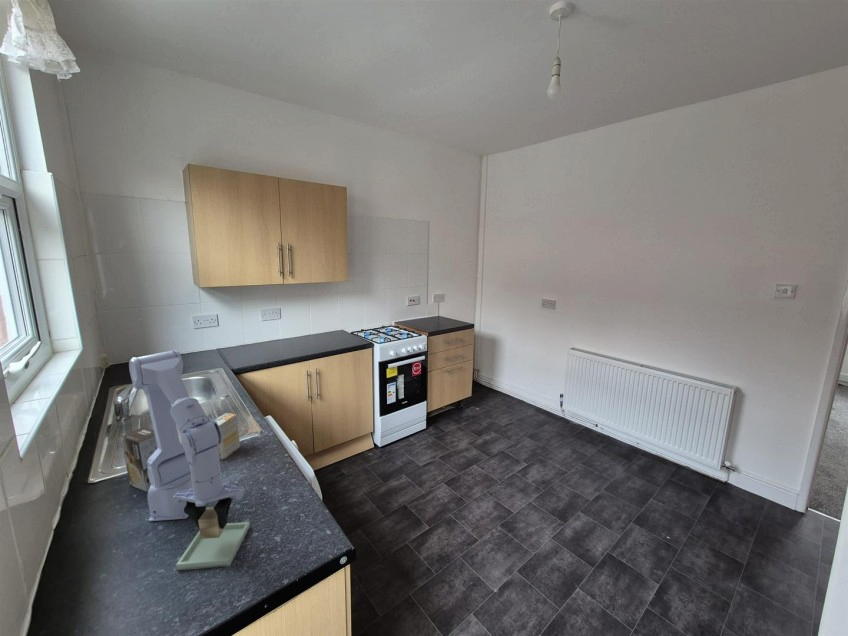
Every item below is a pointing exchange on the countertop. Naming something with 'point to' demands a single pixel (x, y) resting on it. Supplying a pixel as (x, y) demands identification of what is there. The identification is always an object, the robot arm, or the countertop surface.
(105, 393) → the countertop surface
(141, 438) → the coffee box
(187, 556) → the tray
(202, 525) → the beech block
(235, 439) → the supplement box
